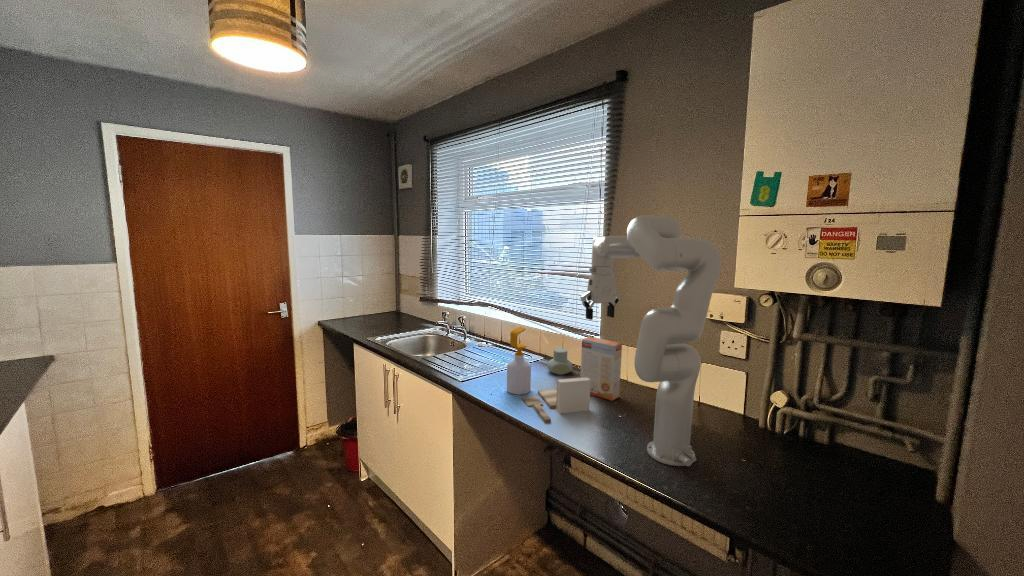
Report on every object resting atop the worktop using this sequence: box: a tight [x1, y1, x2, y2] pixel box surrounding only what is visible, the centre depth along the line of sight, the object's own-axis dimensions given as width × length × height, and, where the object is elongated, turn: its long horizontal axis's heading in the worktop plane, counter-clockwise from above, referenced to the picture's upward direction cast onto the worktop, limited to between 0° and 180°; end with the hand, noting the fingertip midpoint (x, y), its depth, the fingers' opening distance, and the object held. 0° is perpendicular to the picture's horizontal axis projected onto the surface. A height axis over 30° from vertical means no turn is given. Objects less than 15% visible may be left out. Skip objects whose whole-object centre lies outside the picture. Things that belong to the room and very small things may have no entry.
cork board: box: [537, 388, 557, 409], centre depth 156 cm, size 14×14×1 cm
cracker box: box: [580, 336, 623, 402], centre depth 159 cm, size 14×6×21 cm, turn 48°
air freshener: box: [546, 348, 574, 376], centre depth 183 cm, size 11×8×10 cm
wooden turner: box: [522, 396, 552, 424], centre depth 146 cm, size 20×6×1 cm, turn 15°
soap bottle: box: [506, 326, 532, 396], centre depth 161 cm, size 9×9×25 cm
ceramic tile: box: [555, 376, 591, 415], centre depth 145 cm, size 3×11×11 cm, turn 105°
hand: (599, 317), depth 154 cm, fingers open, 9 cm apart
